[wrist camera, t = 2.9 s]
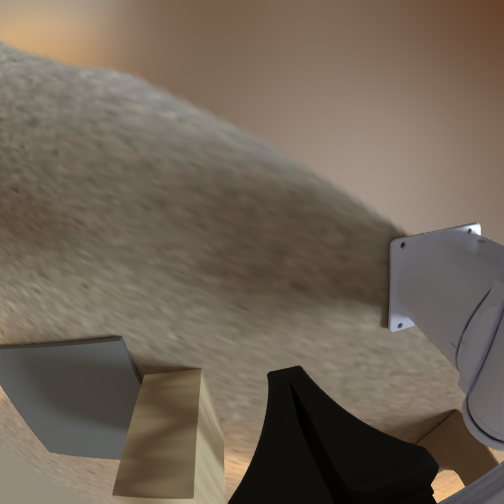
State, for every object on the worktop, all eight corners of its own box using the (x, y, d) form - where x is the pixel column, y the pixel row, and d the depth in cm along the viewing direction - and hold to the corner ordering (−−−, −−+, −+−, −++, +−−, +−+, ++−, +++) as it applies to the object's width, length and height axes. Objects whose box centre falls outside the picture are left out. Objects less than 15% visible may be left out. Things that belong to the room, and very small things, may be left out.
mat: (122, 336, 22) (120, 340, 22) (181, 455, 28) (180, 459, 27) (-18, 346, 22) (-20, 349, 22) (51, 449, 27) (49, 452, 27)
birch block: (201, 368, 24) (193, 498, 13) (223, 428, 26) (227, 538, 15) (144, 374, 24) (112, 495, 12) (173, 433, 26) (162, 538, 15)
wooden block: (415, 457, 33) (463, 550, 16) (403, 451, 31) (453, 553, 14) (465, 416, 31) (526, 504, 14) (456, 407, 30) (524, 504, 13)
